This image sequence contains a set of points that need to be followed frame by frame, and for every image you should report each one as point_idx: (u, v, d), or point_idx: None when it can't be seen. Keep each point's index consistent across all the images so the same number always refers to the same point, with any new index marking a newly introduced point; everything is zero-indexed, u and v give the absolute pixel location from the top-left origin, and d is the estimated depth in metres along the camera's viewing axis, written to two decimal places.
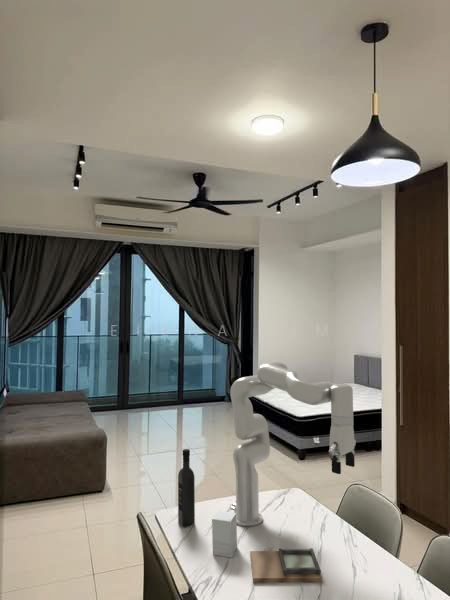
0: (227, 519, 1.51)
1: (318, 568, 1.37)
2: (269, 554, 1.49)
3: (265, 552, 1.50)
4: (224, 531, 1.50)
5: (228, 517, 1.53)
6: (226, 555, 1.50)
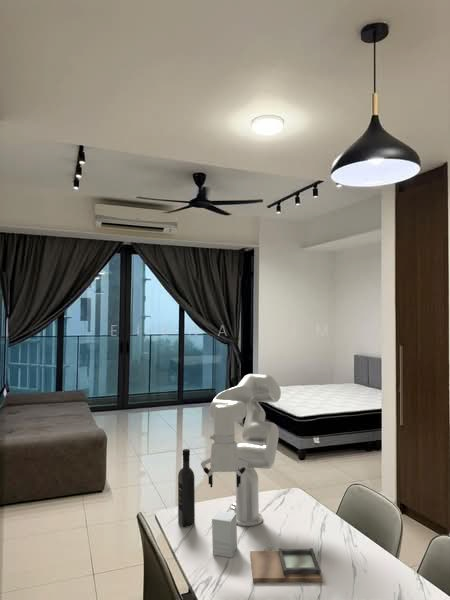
0: (227, 519, 1.51)
1: (318, 568, 1.37)
2: (269, 554, 1.49)
3: (265, 552, 1.50)
4: (224, 531, 1.50)
5: (228, 517, 1.53)
6: (226, 555, 1.50)
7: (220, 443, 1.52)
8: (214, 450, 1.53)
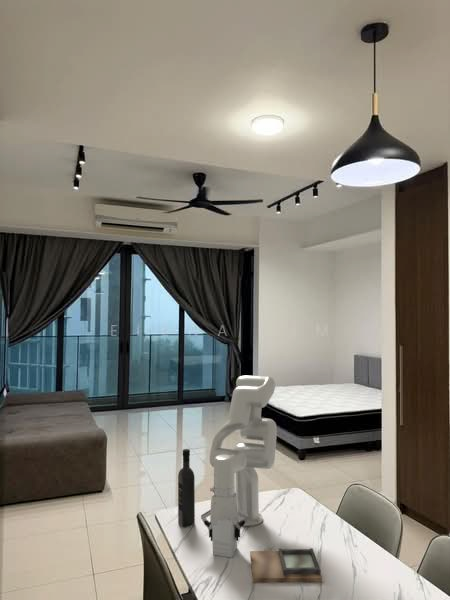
0: (227, 519, 1.51)
1: (318, 568, 1.37)
2: (269, 554, 1.49)
3: (265, 552, 1.50)
4: (224, 531, 1.50)
5: None
6: (226, 555, 1.50)
7: (220, 496, 1.51)
8: (214, 503, 1.52)
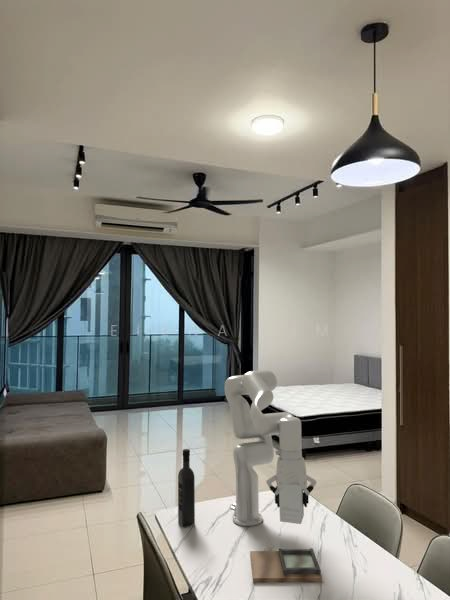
0: (295, 484, 1.42)
1: (318, 568, 1.37)
2: (269, 554, 1.49)
3: (265, 552, 1.50)
4: (292, 496, 1.41)
5: None
6: (295, 522, 1.40)
7: (288, 459, 1.42)
8: (281, 467, 1.43)
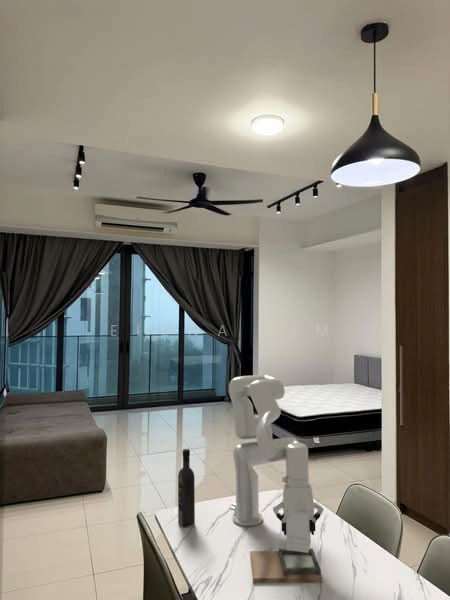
0: (302, 512, 1.41)
1: (318, 568, 1.37)
2: (269, 554, 1.49)
3: (265, 552, 1.50)
4: (299, 524, 1.40)
5: None
6: (302, 550, 1.39)
7: (295, 487, 1.41)
8: (288, 494, 1.41)
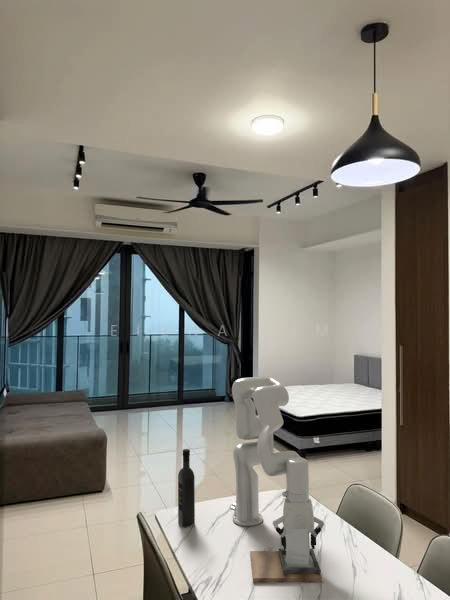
0: None
1: (318, 568, 1.37)
2: (269, 554, 1.49)
3: (265, 552, 1.50)
4: (299, 541, 1.40)
5: None
6: (302, 567, 1.39)
7: (295, 502, 1.40)
8: (288, 509, 1.41)
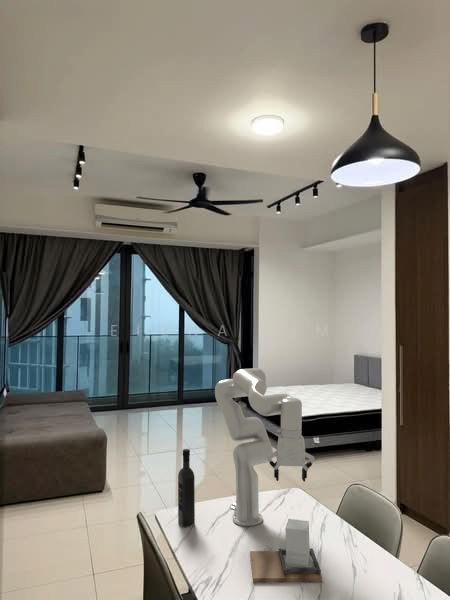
0: (302, 528, 1.41)
1: (318, 568, 1.37)
2: (269, 554, 1.49)
3: (265, 552, 1.50)
4: (299, 541, 1.40)
5: (302, 526, 1.42)
6: (302, 567, 1.39)
7: (288, 437, 1.51)
8: (281, 444, 1.52)
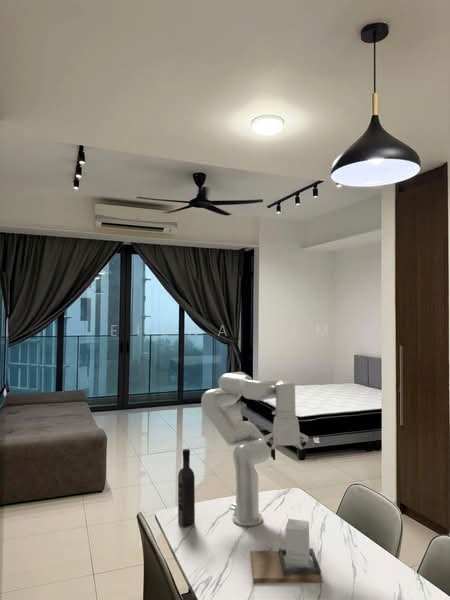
0: (302, 528, 1.41)
1: (318, 568, 1.37)
2: (269, 554, 1.49)
3: (265, 552, 1.50)
4: (299, 541, 1.40)
5: (302, 526, 1.42)
6: (302, 567, 1.39)
7: (283, 418, 1.60)
8: (277, 425, 1.61)
